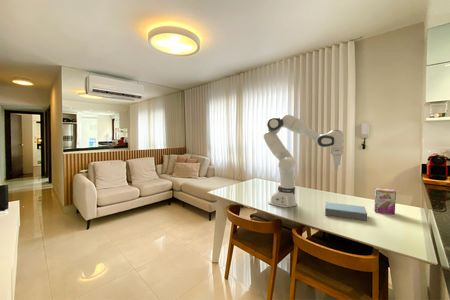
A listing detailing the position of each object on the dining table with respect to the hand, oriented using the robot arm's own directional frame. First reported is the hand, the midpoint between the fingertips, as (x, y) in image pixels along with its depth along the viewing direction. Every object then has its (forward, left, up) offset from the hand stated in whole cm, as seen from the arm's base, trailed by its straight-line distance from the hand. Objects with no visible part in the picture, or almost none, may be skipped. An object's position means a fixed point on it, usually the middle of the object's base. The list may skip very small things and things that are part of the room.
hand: (336, 169), depth 153 cm
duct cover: (+5, -15, -25) cm, 29 cm away
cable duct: (+5, -16, -29) cm, 34 cm away
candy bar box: (+30, 0, -29) cm, 42 cm away
